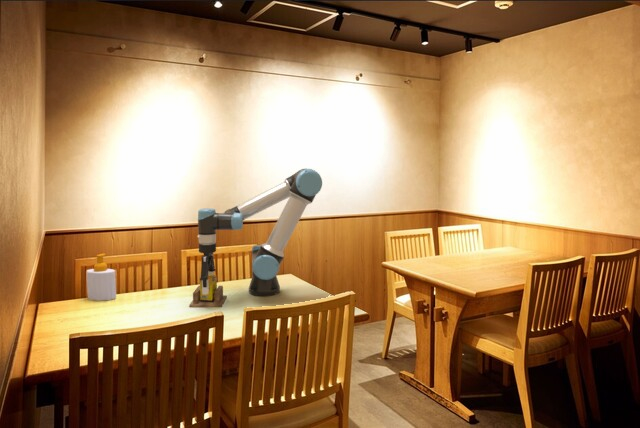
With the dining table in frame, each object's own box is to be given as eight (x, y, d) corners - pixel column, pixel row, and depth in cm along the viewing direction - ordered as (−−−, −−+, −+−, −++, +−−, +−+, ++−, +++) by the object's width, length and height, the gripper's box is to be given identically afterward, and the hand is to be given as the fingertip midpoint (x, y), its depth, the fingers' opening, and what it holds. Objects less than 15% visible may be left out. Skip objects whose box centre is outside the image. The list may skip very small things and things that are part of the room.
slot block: (226, 297, 219) (226, 284, 218) (221, 306, 205) (221, 293, 204) (196, 297, 218) (195, 285, 217) (189, 307, 204) (189, 293, 204)
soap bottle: (120, 296, 219) (118, 253, 217) (109, 301, 211) (107, 257, 209) (94, 295, 221) (92, 252, 219) (83, 300, 213) (80, 256, 211)
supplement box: (212, 302, 208) (212, 278, 207) (199, 301, 209) (199, 277, 208) (217, 298, 214) (217, 275, 213) (205, 297, 215) (204, 274, 213)
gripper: (204, 238, 220) (205, 282, 223) (192, 248, 196) (193, 298, 198) (220, 238, 221) (221, 282, 223) (210, 248, 196) (211, 297, 199)
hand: (208, 289), depth 211 cm, fingers open, 13 cm apart
